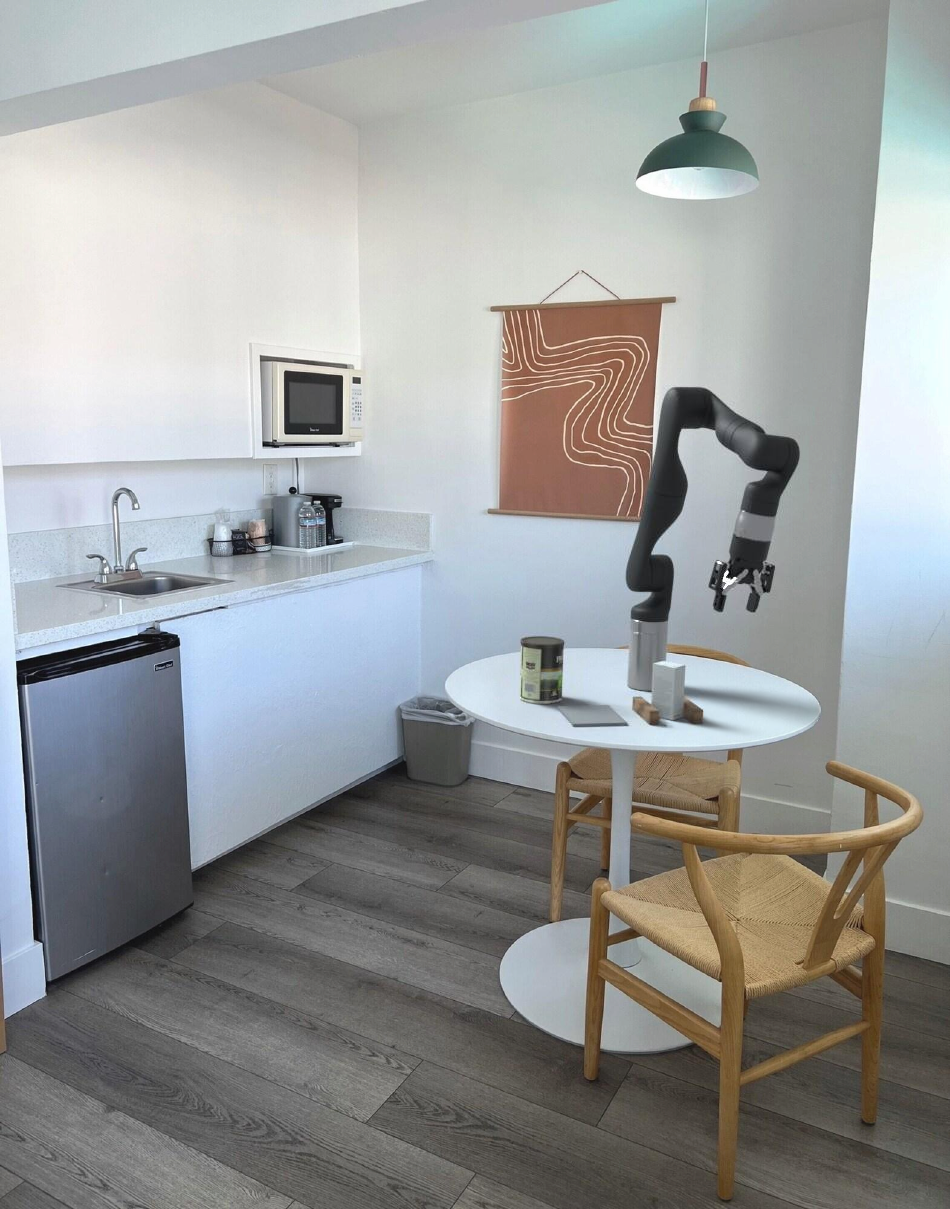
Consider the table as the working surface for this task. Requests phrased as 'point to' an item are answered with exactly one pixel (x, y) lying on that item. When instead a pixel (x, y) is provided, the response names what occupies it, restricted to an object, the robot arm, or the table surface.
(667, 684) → the skincare box
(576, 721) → the mat
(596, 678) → the table surface
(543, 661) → the coffee can
